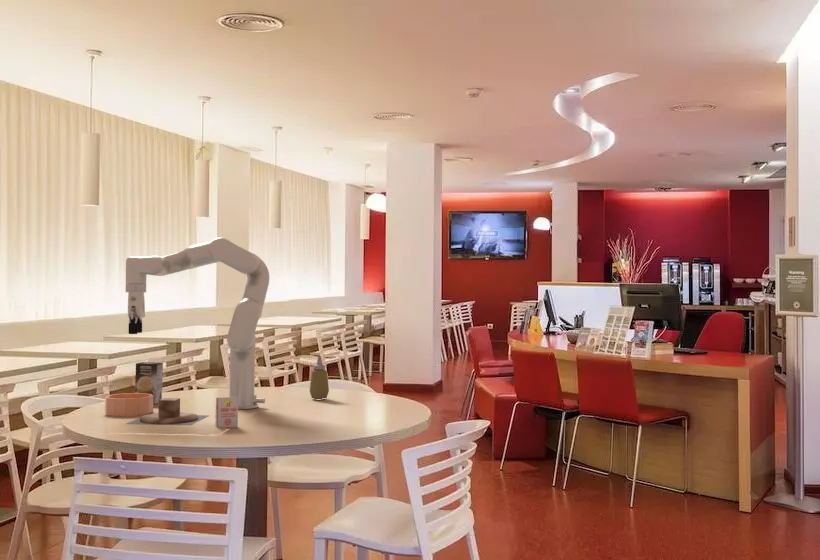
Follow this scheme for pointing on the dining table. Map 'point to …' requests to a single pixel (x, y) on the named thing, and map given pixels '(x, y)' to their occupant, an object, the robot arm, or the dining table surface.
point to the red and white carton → (227, 412)
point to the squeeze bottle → (319, 381)
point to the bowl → (128, 404)
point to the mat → (171, 424)
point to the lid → (169, 413)
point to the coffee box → (149, 379)
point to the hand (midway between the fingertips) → (135, 333)
